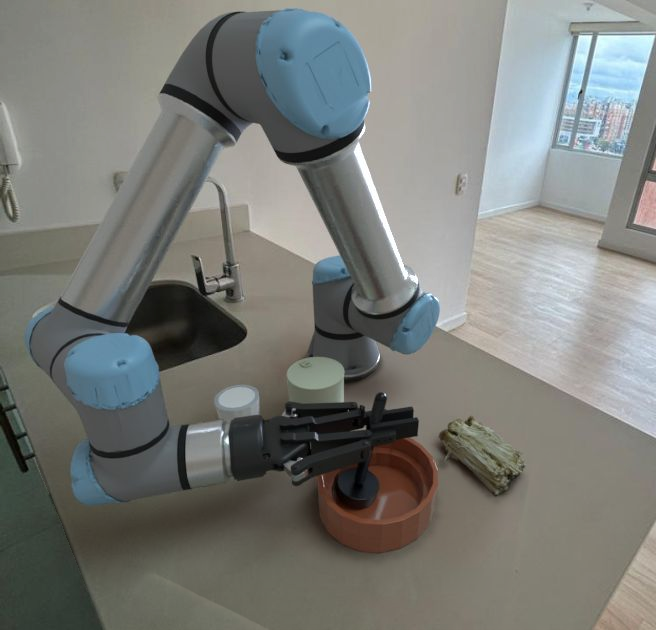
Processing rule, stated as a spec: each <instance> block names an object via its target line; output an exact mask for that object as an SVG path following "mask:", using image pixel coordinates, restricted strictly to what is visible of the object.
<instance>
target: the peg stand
mask: <svg viewBox="0 0 656 630" xmlns="http://www.w3.org/2000/svg"><path fill="white" fill-rule="evenodd" d="M387 401H388V396H387V394H386V393H384V391H379V392H377V393H376V394H375V396H374V399H373V404H372V407H371V410H370V411H371V414H370V418H369V422H368V426H367V430H370V424H376V423H381V420H382V416H383V413H384V409H386V405H387ZM373 450H374V446H373V447H372V448H371V453H370V454H369V459H368V460H367V461H364V462H361V463H358V465H357V467H356V468H349V469H346V470H345V471H343V472H342V473H341V474H340V475H339V477H338V481H337V485H336V494H337V496H338V498H339V499H340V500H341V501H342V502H343V503H344V504H346V505H348V506H350V507H355V508H363V507H367V506H369V505H371V504H372V503H373V502H374V501H375V499H376V497H377V494H378V490H379V481H378V479H377V477H376V476H375V475H374V474H373V473H372V472H370V471H368V468H369V464H370V461H371V457H372V453H373Z"/></svg>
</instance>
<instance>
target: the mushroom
mask: <svg viewBox="0 0 656 630" xmlns="http://www.w3.org/2000/svg"><path fill="white" fill-rule="evenodd" d="M438 439H439V440H440V442H441V443H442V445H443V448H444V450H445V451H446V456H445V457H444V459H443V462H444V463H445V462H446V461H447V459H449V458H450V459H453V460H455V461H458V462H461V464H462V465H464V466H466V468H467V469H469V471H471V473H472V474H473V475H474V476H476V478H477V479H479V481H480V482H482V483H483V485H484V486H485V487H486V489H488V490H489V492H492V493H494V495H495V496H499V494H501V493H504V492H507V491H508V490H509V485H510V484H511V482H512V481H513V480H515V479H516V478H517V477H518V476H520V475H522V473H523V471H524V469H525V468H526V467H527V464H525V462H526V461H525V459H524V458H522V455H523V454H524V453H523V452H521V451H519V449H518V448H517V447H516V448H514V446H513V445H511V444H509V443H507V442H506V441H505V440H504V439H503V438H502V437H501V436H500V435H499V434H498V433H496V432H495V431H494V430H493V429H492V428H491V427H489V426H487V425H486V426H485V425H483V423H482V422H480V421H479V422H478V420H477V419H476V418H475V417H474V416H473V415H470V416H468V417H467V419H465V420H462V419H461V418H457V419H454V420H452V421H450V422H449V423H448V424H447V428H445V429H443V430H441V431H440V432H439V434H438Z"/></svg>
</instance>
